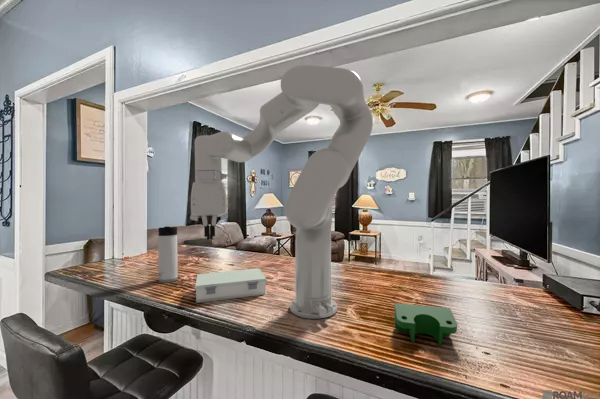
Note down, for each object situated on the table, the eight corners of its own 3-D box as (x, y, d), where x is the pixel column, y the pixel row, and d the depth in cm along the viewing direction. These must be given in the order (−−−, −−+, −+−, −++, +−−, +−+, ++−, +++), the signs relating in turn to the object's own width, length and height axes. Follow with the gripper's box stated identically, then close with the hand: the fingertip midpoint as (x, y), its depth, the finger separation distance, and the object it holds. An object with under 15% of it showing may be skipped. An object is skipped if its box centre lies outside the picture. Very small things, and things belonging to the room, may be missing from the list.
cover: (267, 282, 79) (267, 279, 79) (195, 290, 72) (194, 287, 72) (259, 270, 92) (259, 268, 92) (197, 276, 85) (197, 273, 85)
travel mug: (157, 284, 91) (156, 227, 91) (159, 278, 97) (159, 225, 97) (176, 282, 93) (176, 226, 93) (178, 276, 99) (177, 224, 99)
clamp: (406, 359, 54) (389, 323, 53) (402, 338, 60) (387, 305, 59) (468, 348, 50) (450, 309, 49) (458, 326, 56) (442, 290, 55)
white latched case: (266, 295, 79) (266, 282, 79) (195, 303, 73) (195, 290, 73) (259, 282, 91) (258, 271, 91) (198, 289, 85) (198, 277, 85)
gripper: (233, 179, 84) (234, 236, 83) (182, 179, 79) (184, 239, 79) (235, 177, 76) (236, 239, 76) (179, 176, 72) (181, 242, 72)
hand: (209, 238), depth 78 cm, fingers closed
